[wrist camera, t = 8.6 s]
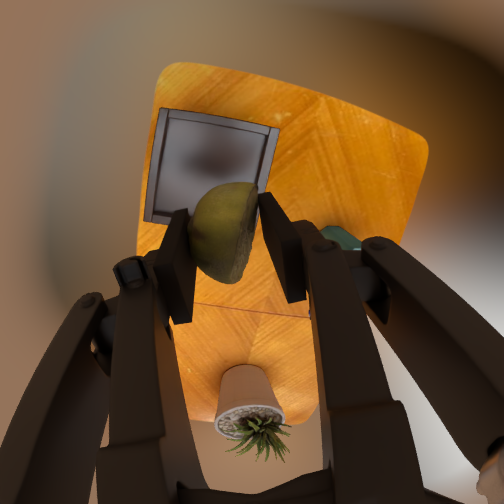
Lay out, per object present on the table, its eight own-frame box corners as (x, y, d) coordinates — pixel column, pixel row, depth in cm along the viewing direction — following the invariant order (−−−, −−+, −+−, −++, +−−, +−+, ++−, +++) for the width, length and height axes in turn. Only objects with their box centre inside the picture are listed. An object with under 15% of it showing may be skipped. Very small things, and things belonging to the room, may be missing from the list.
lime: (245, 162, 15) (258, 182, 11) (281, 234, 18) (304, 277, 13) (173, 200, 16) (158, 235, 11) (215, 267, 18) (217, 318, 14)
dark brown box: (181, 111, 34) (159, 107, 21) (256, 125, 36) (280, 128, 23) (168, 184, 38) (143, 221, 25) (240, 196, 40) (253, 239, 27)
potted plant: (244, 404, 60) (255, 481, 42) (199, 377, 55) (200, 465, 37) (289, 378, 58) (312, 459, 40) (247, 346, 52) (263, 441, 34)
